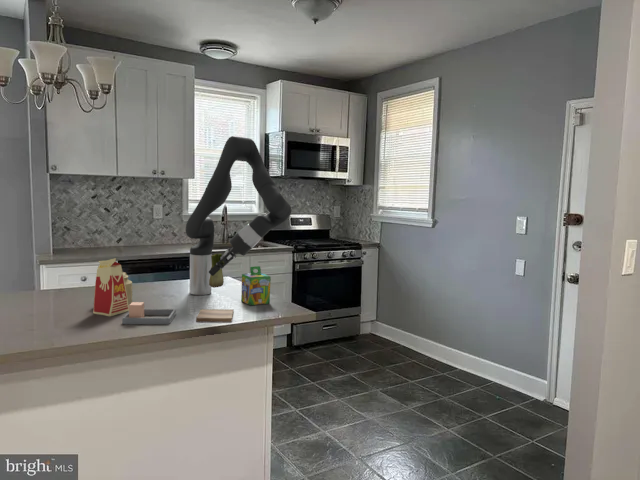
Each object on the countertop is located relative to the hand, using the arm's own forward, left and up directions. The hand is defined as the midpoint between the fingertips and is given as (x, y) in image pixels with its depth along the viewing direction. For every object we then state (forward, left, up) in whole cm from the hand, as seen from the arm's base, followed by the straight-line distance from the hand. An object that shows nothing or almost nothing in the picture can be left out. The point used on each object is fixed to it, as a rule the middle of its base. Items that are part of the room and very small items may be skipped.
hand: (211, 272), depth 167 cm
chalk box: (-22, +16, -16) cm, 32 cm away
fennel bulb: (0, +2, -5) cm, 6 cm away
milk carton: (-6, -36, -16) cm, 40 cm away
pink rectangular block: (+5, -24, -16) cm, 30 cm away
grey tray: (+3, -20, -16) cm, 26 cm away
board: (0, +2, -16) cm, 16 cm away
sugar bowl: (-20, -38, -16) cm, 46 cm away
